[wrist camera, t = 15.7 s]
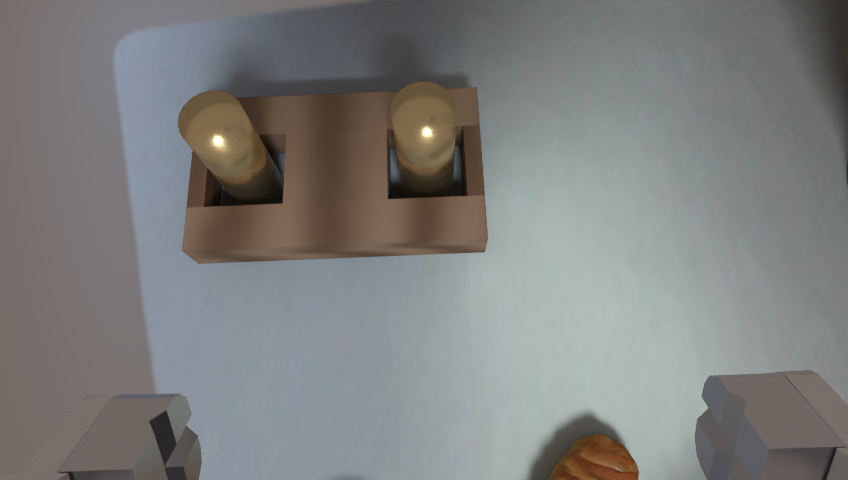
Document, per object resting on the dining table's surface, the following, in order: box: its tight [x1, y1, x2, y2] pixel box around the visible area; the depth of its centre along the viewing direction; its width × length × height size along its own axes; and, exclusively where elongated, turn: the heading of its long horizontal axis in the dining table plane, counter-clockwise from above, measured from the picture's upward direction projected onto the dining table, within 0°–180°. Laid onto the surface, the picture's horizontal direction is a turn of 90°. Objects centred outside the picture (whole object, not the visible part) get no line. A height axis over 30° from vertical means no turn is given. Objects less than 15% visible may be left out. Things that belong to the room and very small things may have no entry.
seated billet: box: [178, 91, 284, 205], centre depth 41 cm, size 4×4×10 cm
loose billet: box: [391, 81, 456, 198], centre depth 41 cm, size 4×4×10 cm
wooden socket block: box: [182, 87, 488, 264], centre depth 45 cm, size 21×12×3 cm, turn 92°
